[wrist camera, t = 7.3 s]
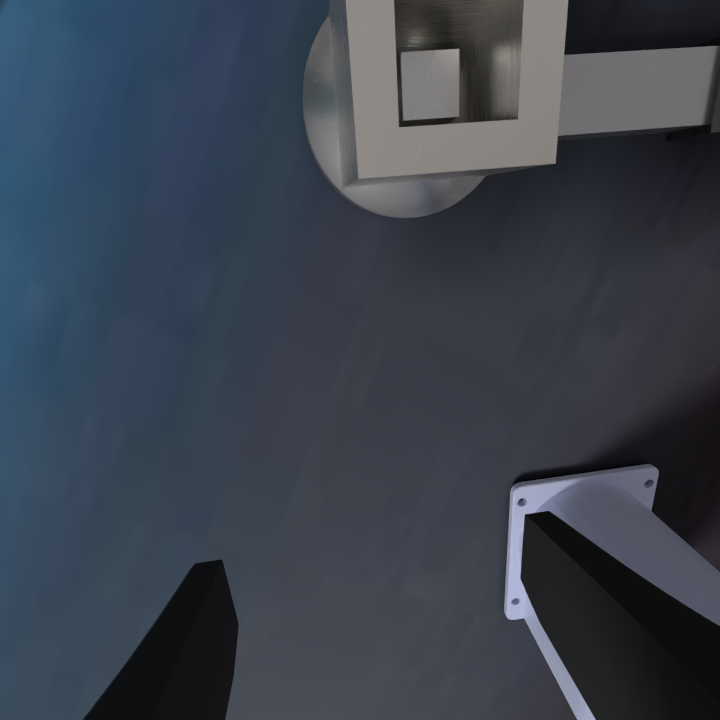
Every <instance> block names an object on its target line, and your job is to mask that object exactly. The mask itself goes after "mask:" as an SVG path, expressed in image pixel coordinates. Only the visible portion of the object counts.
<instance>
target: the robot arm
mask: <svg viewBox="0 0 720 720" xmlns="http://www.w3.org/2000/svg"><path fill="white" fill-rule="evenodd" d="M658 475H659V471H658V469H657V468H656V467H654V466H653V465H651V464H644V465H637V466H630V467H623V468H616V469H609V470H602V471H595V472H588V473H581V474H574V475H567V476H560V477H553V478H546V479H539V480H532V481H525V482H519V483H516V484H515V485H514V486H513V487H512V488H511V492H510V510H509V529H508V547H507V566H506V585H505V603H504V612H505V614H506V616H507V618H508V619H511V620H516V619H522V618H524V619H525V621H526V623H527V624H528V626H529V628H530V630H531V632H532V634H533V636H534V638H535V640H536V642H537V644H538V645H539V647H540V649H541V651H542V653H543V655H544V657H545V659H546V661H547V663H548V665H549V667H550V668H551V670H552V672H553V674H554V676H555V678H556V680H557V682H558V684H559V686H560V688H561V690H562V691H563V693H564V695H565V697H566V699H567V701H568V703H569V705H570V707H571V709H572V711H573V712H574V714H575V716H576V718H577V720H720V572H719V571H718V570H717V569H715V568H714V567H713V566H712V565H711V564H710V563H709V562H708V561H706V560H705V559H704V558H703V557H702V556H701V555H700V554H699V553H697V552H696V551H695V550H694V549H693V548H692V547H691V546H690V545H688V544H687V543H686V542H685V541H684V540H683V539H682V538H681V537H679V536H678V535H677V534H676V533H675V532H674V531H673V530H672V529H670V528H669V527H668V526H667V525H666V524H665V523H664V522H663V521H661V520H660V519H659V518H658V517H657V516H656V515H655V514H654V513H652V512H651V510H652V505H653V500H654V495H655V490H656V485H657V480H658ZM522 498H523V499H522ZM520 499H522V500H521V501H519V500H520ZM518 501H519V502H518ZM237 635H238V620H237V616H236V612H235V608H234V604H233V600H232V596H231V592H230V588H229V584H228V581H227V577H226V573H225V569H224V565H223V561H222V560H216V561H209V562H202V563H195V564H194V565H193V567H192V568H191V569H190V571H189V572H188V574H187V575H186V577H185V578H184V580H183V581H182V583H181V584H180V586H179V587H178V589H177V590H176V592H175V593H174V595H173V596H172V598H171V599H170V601H169V602H168V604H167V605H166V607H165V608H164V610H163V611H162V613H161V614H160V616H159V617H158V619H157V620H156V621H155V623H154V624H153V626H152V627H151V629H150V630H149V631H148V633H147V634H146V636H145V637H144V639H143V640H142V641H141V643H140V644H139V646H138V647H137V648H136V650H135V651H134V653H133V654H132V655H131V657H130V658H129V660H128V661H127V662H126V664H125V665H124V667H123V668H122V669H121V671H120V672H119V673H118V675H117V676H116V677H115V678H114V680H113V681H112V682H111V684H110V685H109V686H108V688H107V689H106V690H105V692H104V693H103V694H102V695H101V697H100V698H99V699H98V701H97V702H96V703H95V705H94V706H93V707H92V708H91V710H90V711H89V712H88V714H87V715H86V716H85V717H84V719H83V720H225V717H226V712H227V707H228V702H229V697H230V691H231V686H232V681H233V676H234V666H235V657H236V646H237Z"/></svg>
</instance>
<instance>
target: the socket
mask: <svg viewBox="0 0 720 720" xmlns="http://www.w3.org/2000/svg"><path fill="white" fill-rule="evenodd" d="M567 11H568V0H330V3H329V13H328V22H329V34H330V46H331V58H332V70H333V81H334V93H335V105H336V117H337V129H338V141H339V152H340V164H341V176H342V188H346V187H358V186H371V185H384V184H396V183H409V182H422V181H435V180H447V179H460V178H473V177H481V176H487V175H493V174H499V173H504V172H510V171H516V170H522V169H527V168H533V167H539V166H544V165H550V164H556V152H557V139H558V126H559V114H560V101H561V88H562V75H563V62H564V50H565V37H566V24H567ZM447 49H459V117H458V118H456V119H454V120H453V121H451V122H450V124H442V125H427V126H412V127H399V116H398V91H397V65H396V53H400V52H413V51H430V50H447Z"/></svg>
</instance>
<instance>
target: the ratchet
mask: <svg viewBox="0 0 720 720" xmlns="http://www.w3.org/2000/svg"><path fill="white" fill-rule="evenodd" d="M396 65H397V91H398V116H399V127H412V126H427V125H442V124H450V122H451V121H453V120H454V119H456V118H458V117H459V49H447V50H430V51H413V52H400V53H396ZM303 113H304V126H305V132H306V138H307V141H308V145H309V148H310V151H311V154H312V156H313V159H314V161H315V163H316V165H317V167H318V169H319V170H320V172H321V174H322V175H323V177H324V178H325V179H326V181H327V182H328V183H329V185H330V186H331V187H332V188H333V189H334V190H335V191H336V192H337V193H338V194H339V195H340V196H341V197H343V198H344V199H345V200H347V201H348V202H349V203H351V204H353V205H354V206H356V207H358V208H360V209H362V210H365V211H367V212H370V213H373V214H377V215H382V216H389V217H397V218H415V217H422V216H427V215H430V214H434V213H437V212H440V211H442V210H444V209H446V208H448V207H451V206H452V205H454V204H455V203H457V202H459V201H460V200H462V199H463V198H464V197H465V196H467V195H468V194H469V193H470V192H471V191H473V189H474V188H475V187H476V186H477V185H478V184H479V183H480V182H481V181H482V180H483V178H484V177H485V176H481V177H473V178H460V179H447V180H435V181H422V182H409V183H396V184H384V185H371V186H358V187H346V188H342V176H341V164H340V152H339V141H338V129H337V117H336V105H335V93H334V81H333V70H332V58H331V46H330V34H329V22H328V17H327V19H326V20H325V22H324V23H323V25H322V27H321V28H320V30H319V32H318V34H317V36H316V38H315V41H314V43H313V45H312V47H311V51H310V54H309V57H308V60H307V64H306V70H305V75H304V82H303ZM667 132H668V137H667V141H669V140H682V139H695V138H707V137H720V37H718V38H715V39H713V40H710V41H708V42H705V43H703V44H701V45H698V46H696V47H689V48H672V49H656V50H639V51H623V52H606V53H590V54H573V55H564V62H563V75H562V88H561V101H560V114H559V126H558V139H557V141H563V140H576V139H589V138H602V137H615V136H628V135H641V134H654V133H667Z"/></svg>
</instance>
